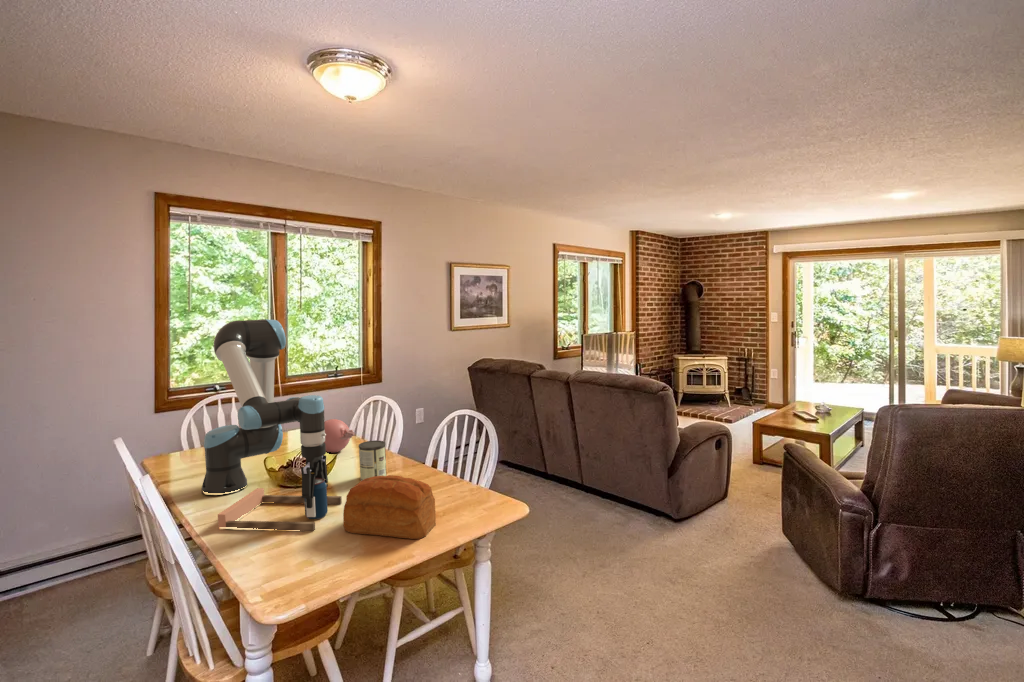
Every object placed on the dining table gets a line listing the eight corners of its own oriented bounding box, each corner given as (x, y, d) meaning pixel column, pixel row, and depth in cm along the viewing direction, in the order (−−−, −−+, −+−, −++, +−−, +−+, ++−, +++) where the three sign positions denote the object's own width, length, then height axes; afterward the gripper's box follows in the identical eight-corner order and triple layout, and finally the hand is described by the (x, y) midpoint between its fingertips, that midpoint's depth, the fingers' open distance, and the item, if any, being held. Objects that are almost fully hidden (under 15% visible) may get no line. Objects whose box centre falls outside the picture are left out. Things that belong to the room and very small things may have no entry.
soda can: (327, 510, 178) (325, 476, 177) (328, 518, 171) (326, 482, 170) (305, 513, 175) (303, 478, 174) (305, 522, 169) (303, 485, 168)
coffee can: (365, 474, 214) (364, 440, 213) (390, 474, 213) (389, 440, 212) (355, 482, 204) (354, 447, 203) (381, 483, 203) (380, 447, 202)
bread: (420, 543, 154) (418, 490, 152) (338, 535, 160) (336, 484, 158) (440, 520, 169) (439, 472, 168) (364, 513, 175) (363, 467, 174)
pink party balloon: (341, 460, 233) (339, 426, 232) (308, 454, 242) (307, 421, 241) (365, 450, 247) (364, 418, 245) (333, 445, 256) (332, 414, 254)
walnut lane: (226, 530, 164) (225, 522, 164) (264, 502, 186) (264, 495, 186) (313, 531, 162) (313, 523, 162) (341, 503, 184) (341, 496, 184)
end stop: (218, 530, 164) (217, 514, 164) (257, 501, 186) (257, 488, 186) (226, 530, 164) (225, 514, 163) (264, 502, 186) (263, 488, 186)
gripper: (310, 452, 161) (314, 525, 163) (336, 435, 181) (339, 500, 183) (287, 452, 162) (290, 524, 164) (315, 435, 181) (318, 499, 183)
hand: (316, 511), depth 173 cm, fingers closed on soda can, 7 cm apart
